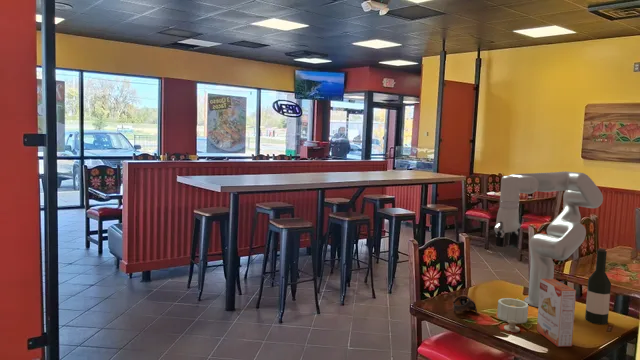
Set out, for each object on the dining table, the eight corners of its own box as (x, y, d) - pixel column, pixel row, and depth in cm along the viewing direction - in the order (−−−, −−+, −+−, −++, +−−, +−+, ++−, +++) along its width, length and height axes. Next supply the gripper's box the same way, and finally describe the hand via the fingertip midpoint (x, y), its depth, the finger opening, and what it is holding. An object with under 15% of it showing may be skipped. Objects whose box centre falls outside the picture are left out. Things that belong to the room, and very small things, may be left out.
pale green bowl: (508, 311, 205) (509, 296, 205) (533, 319, 196) (534, 304, 195) (491, 316, 199) (492, 301, 198) (516, 325, 189) (517, 309, 189)
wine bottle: (588, 315, 203) (594, 245, 200) (610, 321, 197) (616, 249, 194) (581, 320, 197) (587, 248, 195) (604, 326, 191) (610, 252, 189)
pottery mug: (481, 318, 198) (474, 302, 195) (459, 326, 199) (452, 310, 197) (474, 301, 209) (467, 286, 207) (453, 309, 211) (446, 294, 208)
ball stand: (509, 325, 189) (510, 318, 189) (522, 330, 185) (523, 322, 184) (501, 328, 186) (501, 320, 186) (514, 333, 181) (514, 325, 181)
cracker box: (535, 331, 184) (539, 277, 182) (550, 331, 185) (554, 278, 183) (556, 347, 170) (560, 289, 168) (572, 347, 171) (577, 289, 169)
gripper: (513, 203, 211) (510, 241, 212) (488, 205, 201) (486, 245, 202) (529, 205, 205) (526, 244, 206) (504, 207, 195) (502, 249, 196)
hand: (506, 245), depth 204 cm, fingers open, 9 cm apart
